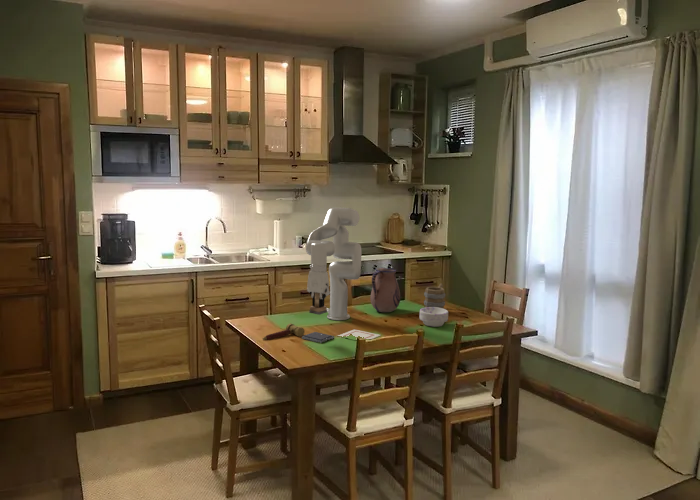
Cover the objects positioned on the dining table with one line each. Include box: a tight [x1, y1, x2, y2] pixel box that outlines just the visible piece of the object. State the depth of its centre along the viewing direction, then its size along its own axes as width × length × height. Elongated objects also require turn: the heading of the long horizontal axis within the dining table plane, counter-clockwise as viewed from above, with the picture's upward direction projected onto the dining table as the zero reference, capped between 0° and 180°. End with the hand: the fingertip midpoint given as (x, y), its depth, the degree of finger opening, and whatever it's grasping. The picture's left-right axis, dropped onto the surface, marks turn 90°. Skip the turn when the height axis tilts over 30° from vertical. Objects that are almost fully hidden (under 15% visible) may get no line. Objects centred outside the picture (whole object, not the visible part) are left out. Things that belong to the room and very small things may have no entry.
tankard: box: [423, 283, 446, 309], centre depth 334 cm, size 20×13×15 cm, turn 150°
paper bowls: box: [418, 306, 449, 328], centre depth 303 cm, size 15×15×8 cm
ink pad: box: [301, 331, 335, 344], centre depth 275 cm, size 12×10×2 cm
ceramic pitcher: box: [370, 267, 401, 313], centre depth 329 cm, size 18×21×25 cm
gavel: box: [262, 323, 305, 341], centre depth 277 cm, size 21×5×10 cm
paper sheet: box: [337, 328, 381, 340], centre depth 280 cm, size 16×15×1 cm
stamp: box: [308, 292, 328, 316], centre depth 272 cm, size 6×6×10 cm
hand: (318, 305), depth 272 cm, fingers closed on stamp, 3 cm apart
